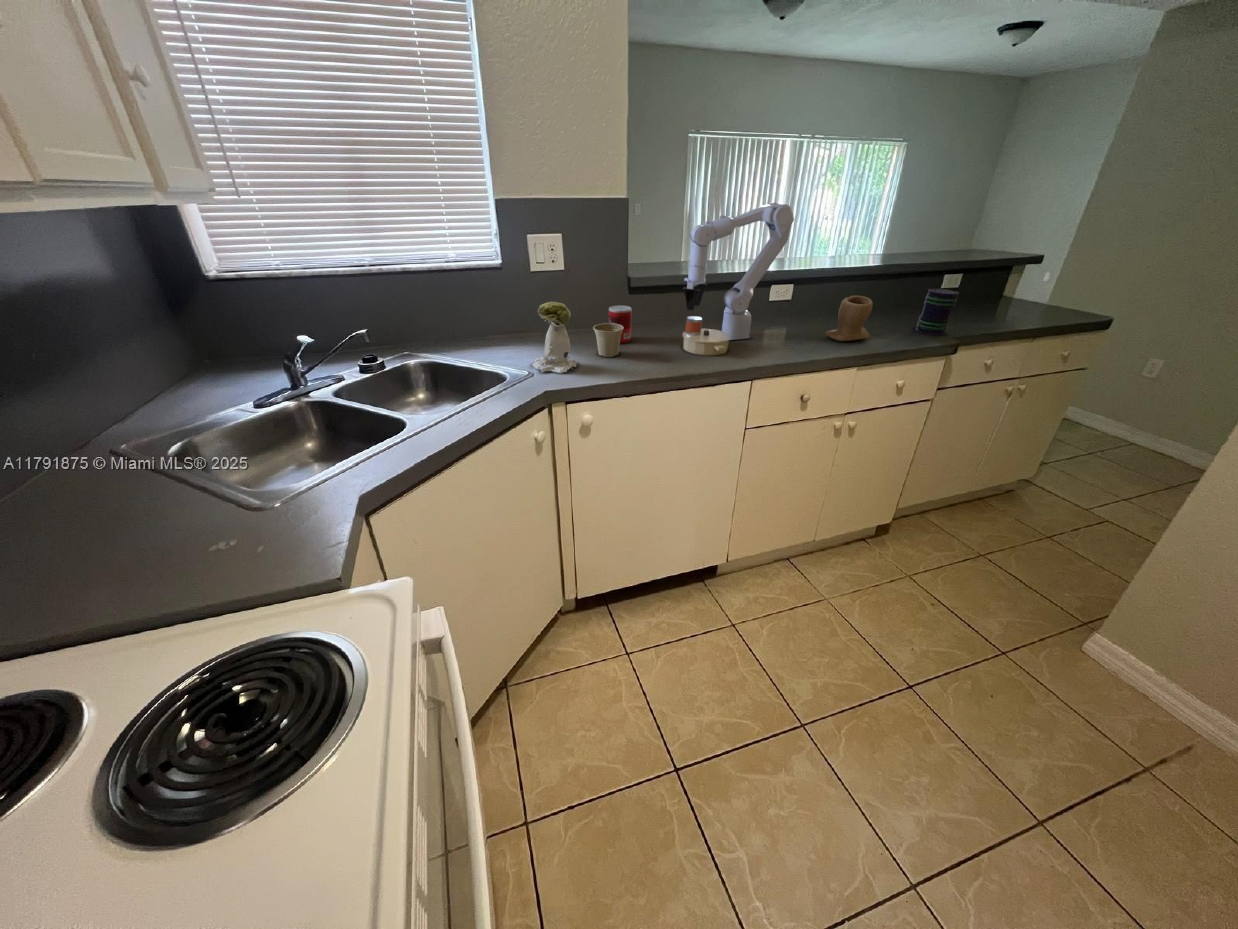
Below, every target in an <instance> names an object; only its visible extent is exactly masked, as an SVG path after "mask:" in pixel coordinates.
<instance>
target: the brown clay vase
mask: <svg viewBox="0 0 1238 929" xmlns="http://www.w3.org/2000/svg"><path fill="white" fill-rule="evenodd" d="M872 310H873V300H872V298H869V297H866V296H863V295H850V296H848V297H844V298H843V300H842V301H841V303H840V306H839V309H838V314H837V320H838V321H837V322H838V323H837V328H836V329H831V330H827V331H826V332H825V335H826V337H828V338H830V339H831V340H835V341H839V342H850V341H858V340H866V339H870V338H871V337H870V334H869V332H868V330H866V328H865V327H863V326H864V324H865V323H866V322H867V319H868V318H869V316H870V315H871V313H872Z"/></svg>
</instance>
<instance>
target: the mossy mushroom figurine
mask: <svg viewBox="0 0 1238 929" xmlns="http://www.w3.org/2000/svg"><path fill="white" fill-rule="evenodd" d="M537 315H538V316H540V318H541V319H542V320H544V322H547V323H548V324H549V327H548V328H547V332H546V335H545V341H544V356H542V357H537V358H535V359H534V363H532V367H533V368H535V369H537V370H539V371H540V373H545V372H553V373H557V374H563V373H567V372H568V370H570V369H572V370H574V369H573V367H574V368H577V367H578V364H577V360H574V359H571V357H570V356H569V352H570V351H571V343H570V341H571V338H570V337H569V334H568V332H567V330H566V326H565V325H567V324H568V323H569V320H570V318H571V311H570V309H569V308H568V307H567V306H566V305H565V304H564V303H562V302H557V301H548V302H544V303H542V304H540V305H539V306H538V308H537Z"/></svg>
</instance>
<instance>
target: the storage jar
mask: <svg viewBox="0 0 1238 929" xmlns="http://www.w3.org/2000/svg"><path fill="white" fill-rule="evenodd" d="M959 294H960V292H959V291H957V290H954V289H948V288H939V287H938V288H935V287H934V288H928V293H927V294H926V296H925V298H924V302H923V309H922V311H921V313H920V315H919V317H918V320H917V324H916V328H915V331H916V332H918V333H920V334H924V335H929V336H943V335H944V334H945V332H946V330H947V327H948V325H949V322H950V316H951V314H952V311H953V309H954V308H955V305H956V304H957V299H958V296H959Z"/></svg>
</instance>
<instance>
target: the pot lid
mask: <svg viewBox="0 0 1238 929" xmlns="http://www.w3.org/2000/svg"><path fill="white" fill-rule="evenodd" d="M683 337H684V338H685V339H687V340H690V341H693V342H699V343H709V344H714V343H723V342H727V341H729V342H730V341H731V340H730V335H729V334H727V333H725V332H722V330H719V329H714V328H713V329H711V328H701V334H700V335H688V334H686V330H684V331H683V332H682V338H683Z"/></svg>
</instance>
